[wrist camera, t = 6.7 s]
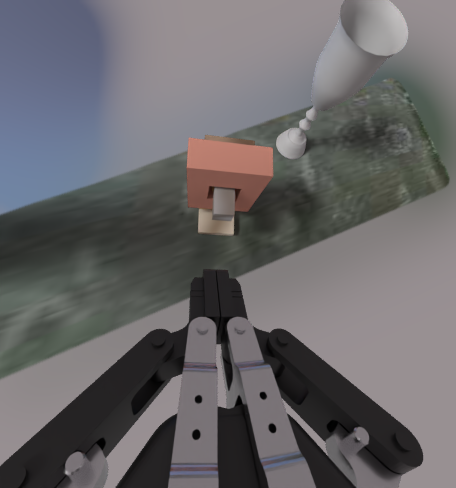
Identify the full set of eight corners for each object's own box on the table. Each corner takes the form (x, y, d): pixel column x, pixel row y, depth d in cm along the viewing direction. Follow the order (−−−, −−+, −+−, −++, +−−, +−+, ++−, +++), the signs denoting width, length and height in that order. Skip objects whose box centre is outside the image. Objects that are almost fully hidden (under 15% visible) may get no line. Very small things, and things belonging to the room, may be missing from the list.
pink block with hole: (187, 207, 30) (186, 167, 21) (189, 185, 31) (188, 137, 21) (247, 211, 31) (273, 176, 22) (247, 191, 32) (272, 147, 22)
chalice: (279, 119, 39) (351, -21, 22) (315, 136, 39) (414, 13, 22) (264, 154, 37) (330, 32, 20) (302, 171, 38) (399, 68, 20)
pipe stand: (197, 233, 33) (201, 202, 21) (200, 187, 34) (205, 134, 23) (232, 235, 34) (254, 206, 22) (233, 190, 35) (254, 140, 23)
